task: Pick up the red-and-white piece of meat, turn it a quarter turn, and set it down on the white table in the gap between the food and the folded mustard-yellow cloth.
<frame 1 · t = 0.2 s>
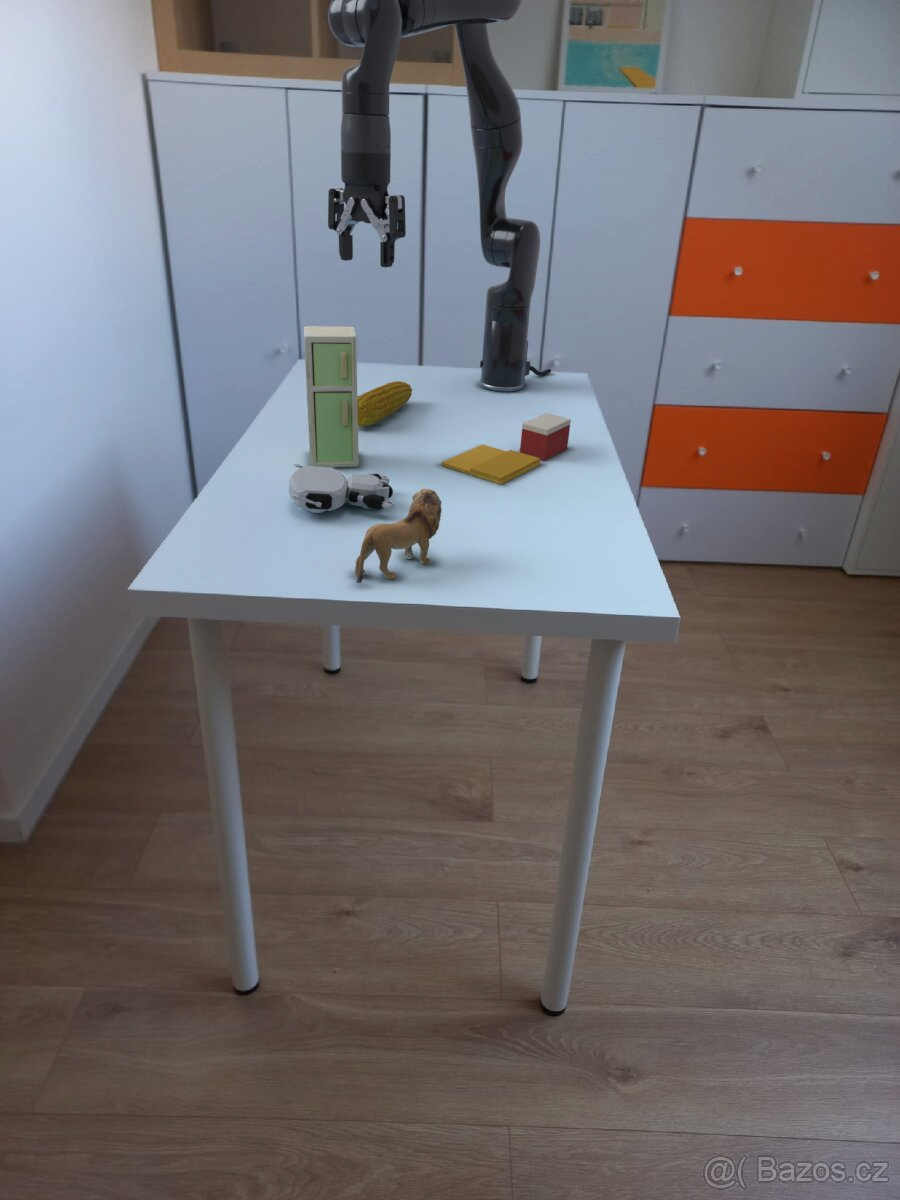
hand: (366, 263, 134), 29 cm above the table, tool pointing down, fingers open, 8 cm apart
food: (382, 416, 159), on the table
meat: (543, 451, 146), on the table
lion figurine: (398, 566, 106), on the table
robot toy: (341, 506, 122), on the table
cloth: (491, 465, 139), on the table
toy refrigerator: (333, 462, 137), on the table
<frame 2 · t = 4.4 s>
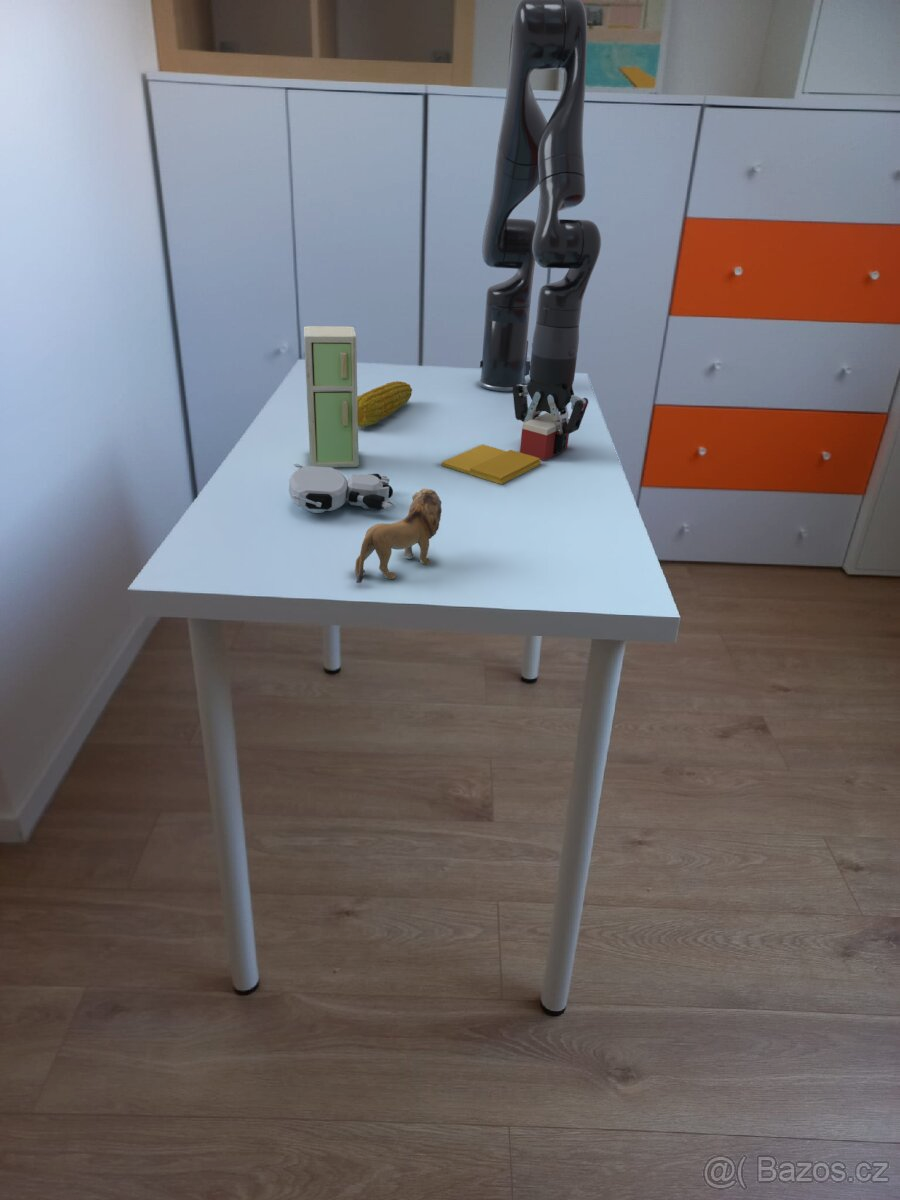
hand: (543, 449, 146), 0 cm above the table, tool pointing down, fingers closed on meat, 5 cm apart
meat: (543, 451, 146), on the table, touching gripper
everything else where it was.
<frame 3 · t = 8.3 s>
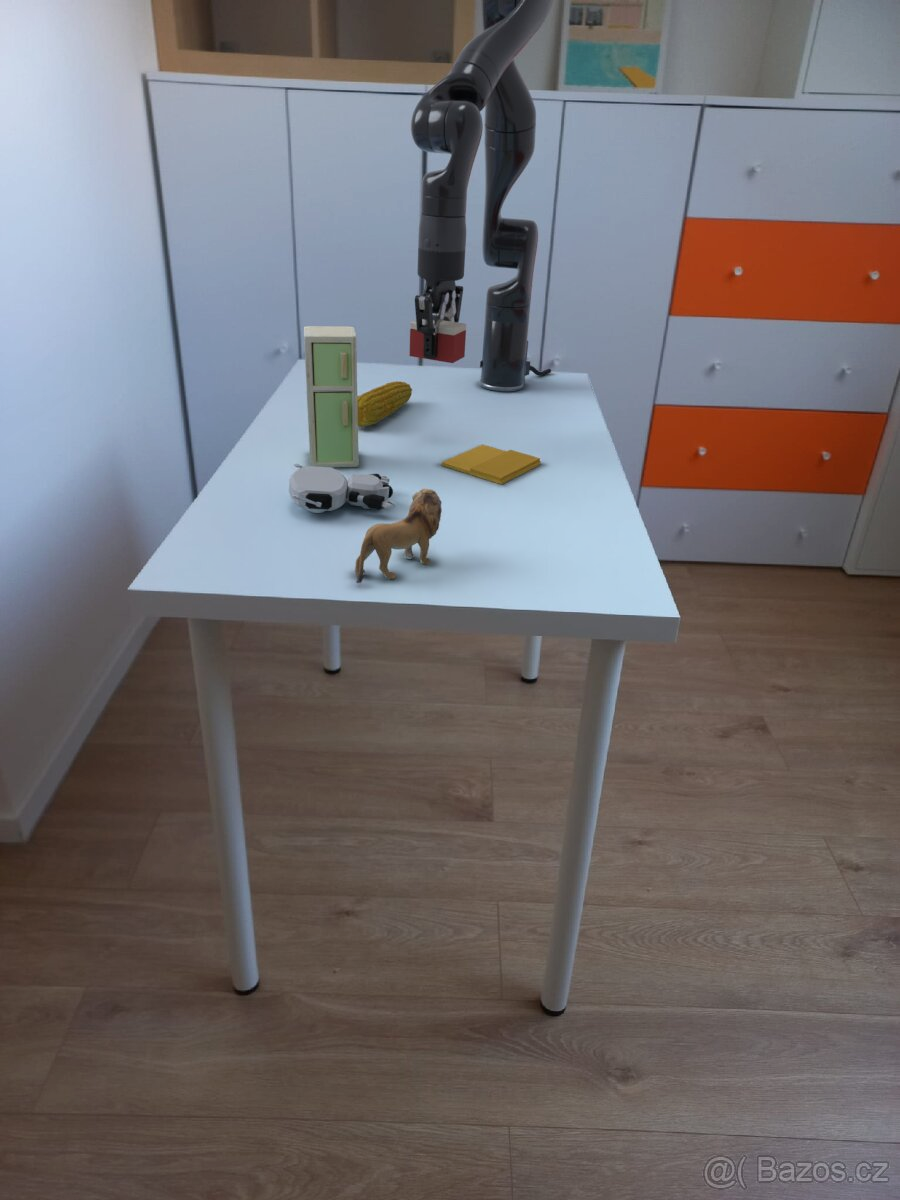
hand: (437, 353, 140), 15 cm above the table, tool pointing down, fingers closed on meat, 5 cm apart
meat: (437, 356, 140), point 15 cm above the table, touching gripper
everything else where it was.
when the fingers open (0 cm above the table, at t = 12.3 s): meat stays where it is, on the table.
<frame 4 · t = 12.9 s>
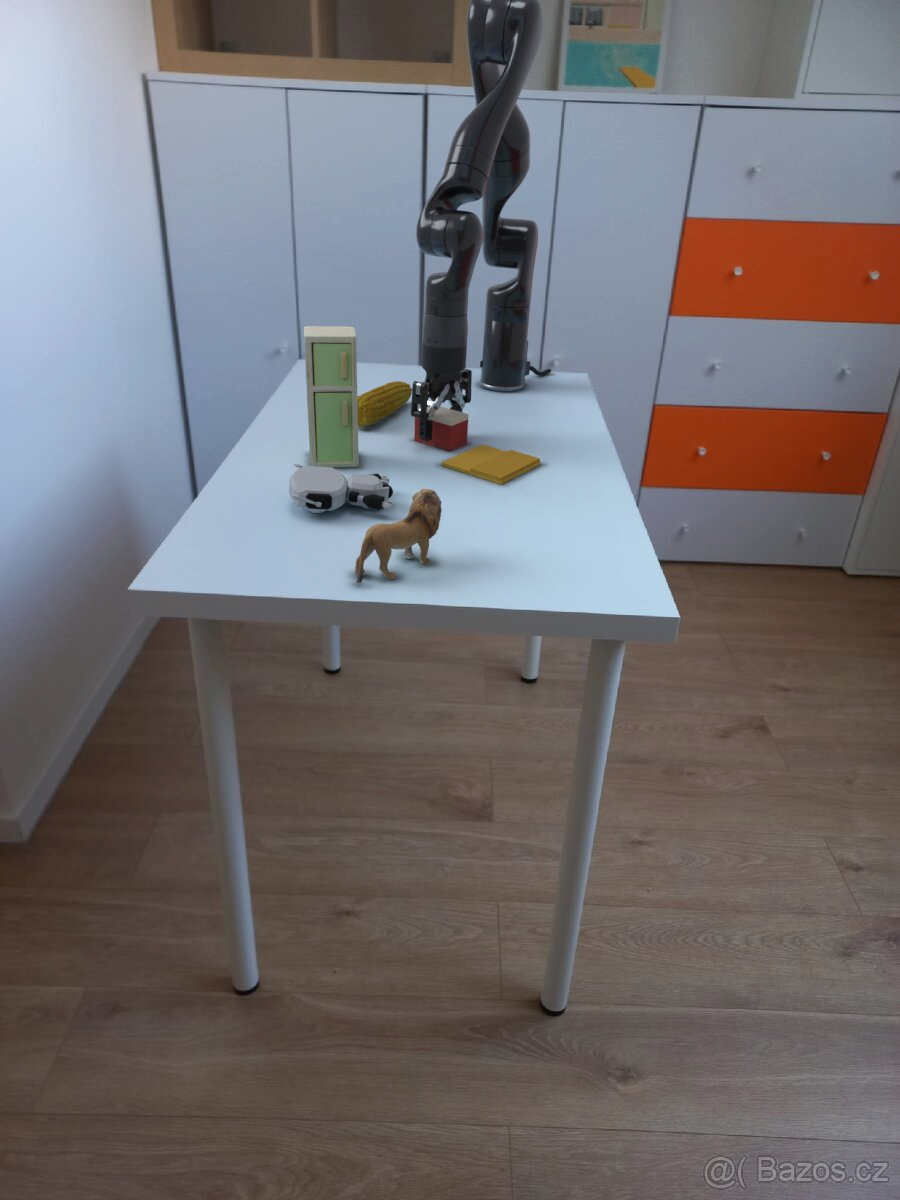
hand: (440, 434, 147), 1 cm above the table, tool pointing down, fingers open, 8 cm apart
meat: (440, 442, 147), on the table
everything else where it was.
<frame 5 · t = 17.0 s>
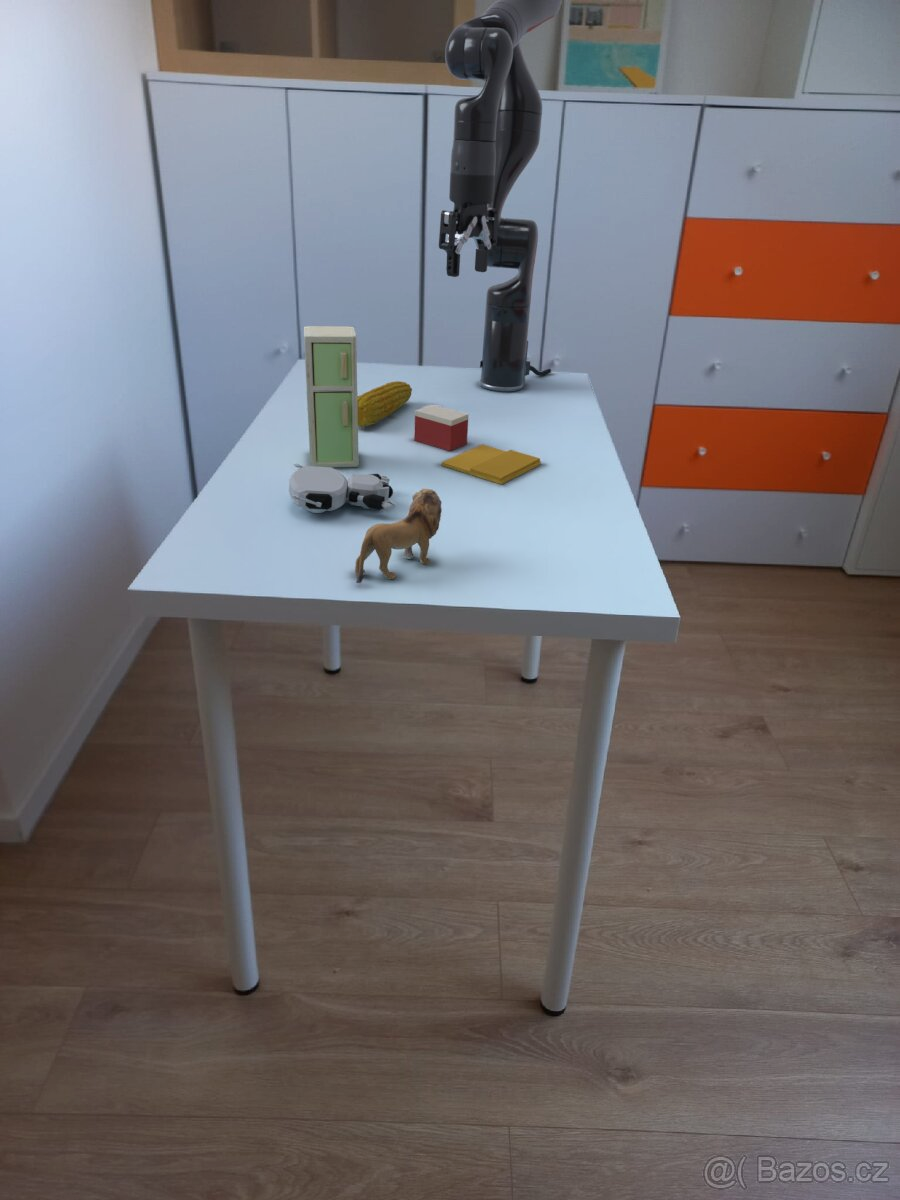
hand: (467, 273, 147), 26 cm above the table, tool pointing down, fingers open, 8 cm apart
nothing on the table moved.
at the end: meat inside the target area (0.1 cm from its centre), on the table; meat tilted 0°; the gripper is holding nothing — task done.
